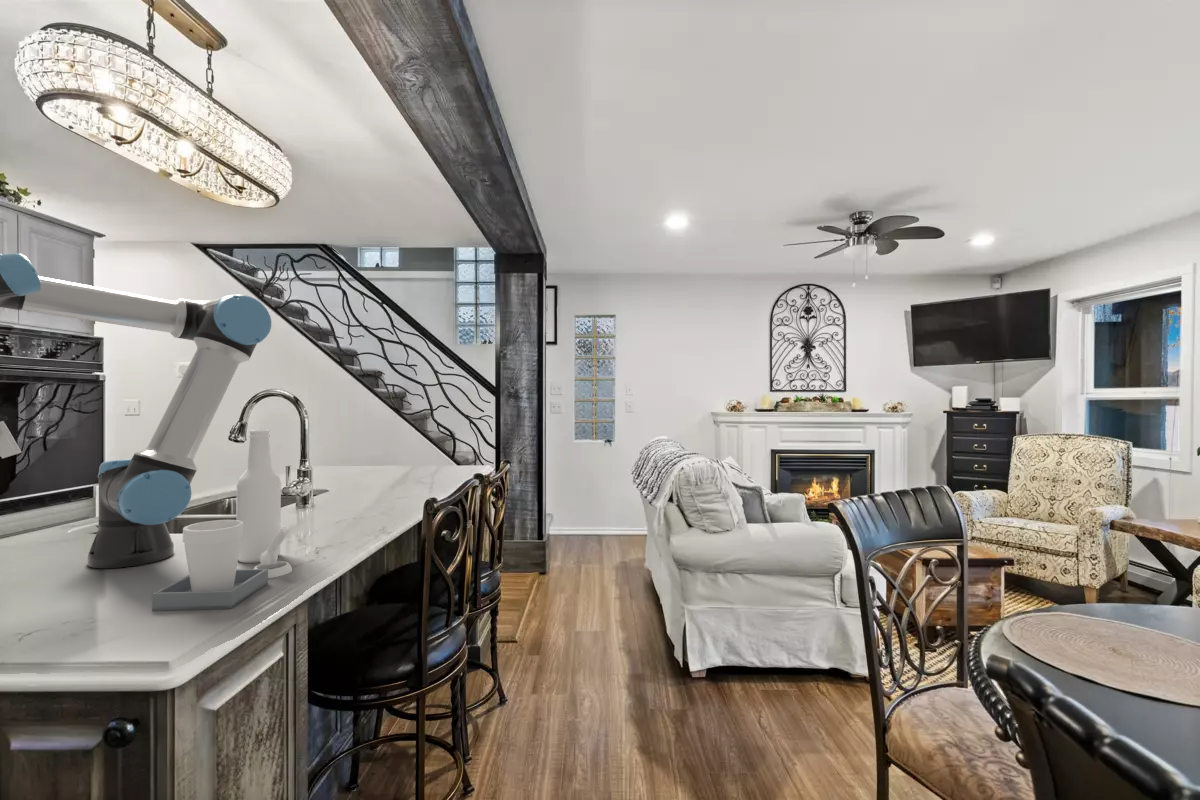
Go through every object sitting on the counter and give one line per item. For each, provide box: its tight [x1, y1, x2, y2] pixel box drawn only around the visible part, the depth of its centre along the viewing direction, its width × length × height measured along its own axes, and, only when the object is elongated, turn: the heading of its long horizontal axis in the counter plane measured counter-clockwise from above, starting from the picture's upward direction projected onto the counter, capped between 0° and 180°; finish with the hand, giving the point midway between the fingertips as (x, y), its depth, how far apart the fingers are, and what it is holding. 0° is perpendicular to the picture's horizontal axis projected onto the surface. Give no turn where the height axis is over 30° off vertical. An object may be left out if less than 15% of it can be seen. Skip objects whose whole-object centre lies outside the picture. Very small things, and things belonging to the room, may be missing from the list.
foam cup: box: [182, 519, 243, 592], centre depth 105 cm, size 10×9×13 cm
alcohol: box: [235, 429, 282, 564], centre depth 129 cm, size 9×9×30 cm
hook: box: [253, 526, 293, 579], centre depth 119 cm, size 8×12×7 cm
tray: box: [151, 568, 269, 612], centre depth 105 cm, size 13×13×3 cm
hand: (8, 455), depth 100 cm, fingers open, 13 cm apart
